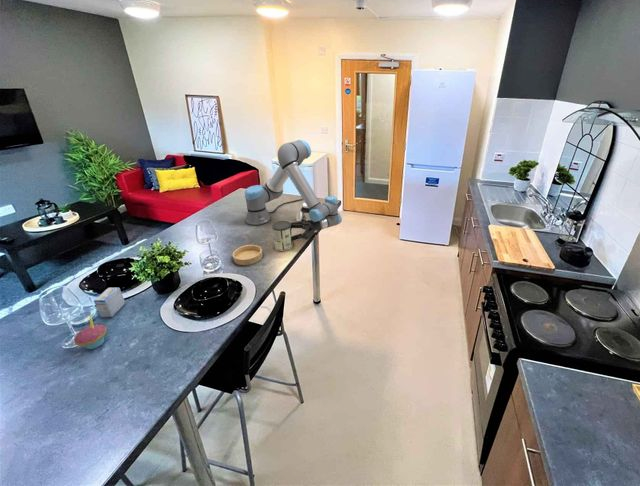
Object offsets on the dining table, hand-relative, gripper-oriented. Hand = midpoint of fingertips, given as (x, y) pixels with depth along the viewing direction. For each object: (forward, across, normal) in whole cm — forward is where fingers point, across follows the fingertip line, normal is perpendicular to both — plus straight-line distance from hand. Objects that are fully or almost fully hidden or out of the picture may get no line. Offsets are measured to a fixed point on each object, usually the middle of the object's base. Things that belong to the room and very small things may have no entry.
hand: (286, 234), depth 164 cm
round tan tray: (+22, +1, -7) cm, 23 cm away
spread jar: (-24, +23, -8) cm, 35 cm away
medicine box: (+78, -5, -8) cm, 79 cm away
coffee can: (+2, 0, -8) cm, 8 cm away
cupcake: (+84, -22, -8) cm, 87 cm away
